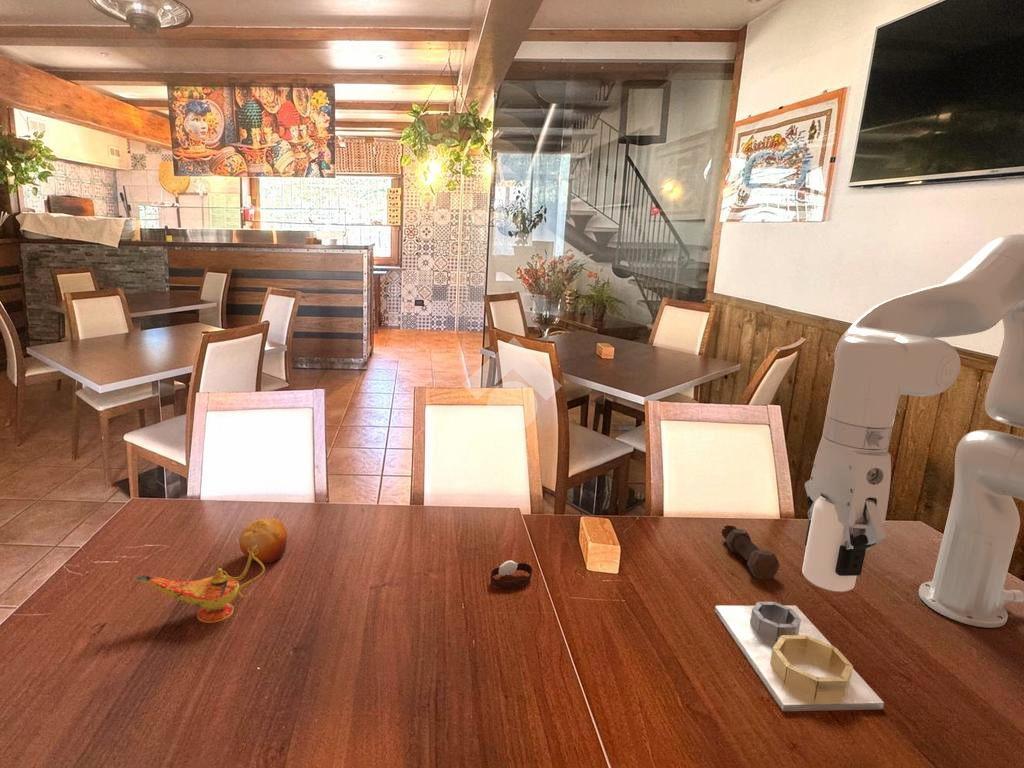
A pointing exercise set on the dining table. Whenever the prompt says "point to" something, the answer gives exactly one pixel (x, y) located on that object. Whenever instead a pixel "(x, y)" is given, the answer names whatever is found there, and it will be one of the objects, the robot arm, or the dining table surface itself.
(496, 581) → the watch
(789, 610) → the plate
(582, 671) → the dining table surface
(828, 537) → the can
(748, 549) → the bolt
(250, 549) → the fruit
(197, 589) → the magic lamp
